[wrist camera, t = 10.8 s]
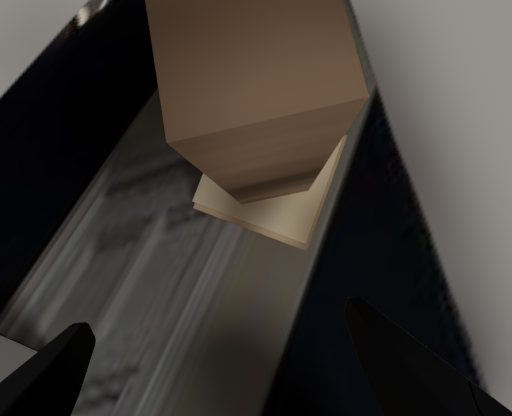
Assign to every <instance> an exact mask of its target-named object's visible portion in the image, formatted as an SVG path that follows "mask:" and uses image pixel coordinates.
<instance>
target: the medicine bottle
mask: <svg viewBox="0 0 512 416" xmlns="http://www.w3.org/2000/svg"><path fill="white" fill-rule="evenodd" d="M36 353H37V351H35V350H33V349H30V348H28V347H26V346H24V345H21V344H19V343H17V342H15V341H12V340H10V339H8V338H6V337H3V336H1V335H0V382H1V381H2V380H4V379H5V378H6V377H7V376H9V375H10V374H11V373H12V372H14V371H15V370H16V369H17V368H18V367H20V366H21V365H22V364H23V363H25V362H26V361H27V360H28V359H30V358H31V357H32V356H33V355H34V354H36Z"/></svg>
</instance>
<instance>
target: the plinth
mask: <svg viewBox="0 0 512 416" xmlns="http://www.w3.org/2000/svg"><path fill="white" fill-rule="evenodd" d="M346 138H347V135H344V136H343V138H342V139H341V141H340V142H339V144H338V145H337V147H336V149H335V150H334V152H333V153H332V155H331V156H330V158H329V159H328V161H327V163H326V164H325V166H324V167H323V169H322V170H321V172H320V173H319V175H318V176H317V178H316V180H315V181H314V183H313V184H312V186H311V187H310V189H309V190H308V191H304V192H299V193H295V194H290V195H285V196H280V197H275V198H270V199H265V200H260V201H256V202H251V203H246V204H241V203H239V202H238V201H237V200H236V199H234V198H233V197H232V196H231V195H230V194H228V193H227V192H226V191H225V190H223V189H222V188H221V187H220V186H218V185H217V184H216V183H215V182H214V181H212V180H211V179H210V178H209V177H207V176H206V175H205V174H204V173H203V175H202V178H201V180H200V183H199V185H198V188H197V190H196V193H195V195H194V198H193V200H192V201H193V202H195V205H194V207H193V208H194V209H197V210H200V211H202V212H205V213H208V214H210V215H213V216H215V217H218V218H221V219H223V220H226V221H229V222H231V223H234V224H237V225H239V226H242V227H245V228H247V229H250V230H253V231H255V232H258V233H260V234H263V235H266V236H268V237H271V238H274V239H276V240H279V241H282V242H284V243H287V244H290V245H292V246H295V247H298V248H300V249H303V250H305V251H307V249H308V246H309V243H310V240H311V237H312V235H313V232H314V229H315V226H316V223H317V220H318V218H319V215H320V212H321V209H322V206H323V203H324V201H325V198H326V195H327V192H328V189H329V187H330V184H331V181H332V178H333V175H334V172H335V170H336V167H337V164H338V161H339V158H340V155H341V153H342V150H343V147H344V144H345V141H346Z"/></svg>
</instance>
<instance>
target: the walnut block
mask: <svg viewBox="0 0 512 416" xmlns="http://www.w3.org/2000/svg"><path fill="white" fill-rule="evenodd" d="M145 1H146V8H147V15H148V22H149V28H150V35H151V42H152V48H153V55H154V62H155V69H156V75H157V82H158V89H159V96H160V102H161V109H162V116H163V123H164V129H165V136H166V143H167V144H168V145H169V146H171V147H172V148H173V149H174V150H176V151H177V152H178V153H179V154H181V155H182V156H183V157H184V158H185V159H187V160H188V161H189V162H190V163H192V164H193V165H194V166H195V167H196V168H198V169H199V170H200V171H201V172H203V173H204V174H205V175H206V176H207V177H209V178H210V179H211V180H212V181H214V182H215V183H216V184H217V185H218V186H220V187H221V188H222V189H223V190H225V191H226V192H227V193H228V194H230V195H231V196H232V197H233V198H234V199H236V200H237V201H238V202H239V203H241V204H246V203H251V202H256V201H260V200H265V199H270V198H275V197H280V196H285V195H290V194H295V193H299V192H304V191H308V190H309V189H310V187H311V186H312V184H313V183H314V181H315V180H316V178H317V176H318V175H319V173H320V172H321V170H322V169H323V167H324V166H325V164H326V163H327V161H328V159H329V158H330V156H331V155H332V153H333V152H334V150H335V149H336V147H337V145H338V144H339V142H340V141H341V139H342V138H343V136H344V135H345V133H346V132H347V130H348V128H349V127H350V125H351V124H352V122H353V121H354V119H355V118H356V116H357V115H358V113H359V111H360V110H361V108H362V107H363V105H364V104H365V102H366V101H367V99H368V98H369V95H368V91H367V87H366V84H365V80H364V76H363V73H362V69H361V65H360V62H359V58H358V54H357V51H356V47H355V43H354V40H353V36H352V32H351V29H350V25H349V21H348V18H347V14H346V10H345V6H344V3H343V0H145Z"/></svg>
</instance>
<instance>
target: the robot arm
mask: <svg viewBox="0 0 512 416" xmlns="http://www.w3.org/2000/svg"><path fill="white" fill-rule="evenodd" d="M344 318H345V321H346V324H347V327H348V330H349V333H350V336H351V339H352V342H353V345H354V348H355V351H356V354H357V356H358V359H359V362H360V364H361V367H362V369H363V371H364V374H365V376H366V378H367V380H368V382H369V385H370V387H371V389H372V391H373V393H374V396H375V398H376V400H377V402H378V405H379V407H380V409H381V411H382V413H383V416H512V412H511V411H510V410H509V409H507V408H506V407H505V406H503V405H502V404H501V403H499V402H498V401H497V400H495V399H494V398H493V397H491V396H490V395H488V394H487V393H486V392H484V391H483V390H482V389H481V388H479V387H478V386H477V385H475V384H474V383H473V382H471V381H469V380H467V378H466V377H465V376H463V375H462V374H461V373H459V372H458V371H457V370H455V369H454V368H453V367H452V366H450V365H449V364H448V363H446V362H445V361H444V360H442V359H441V358H440V357H438V356H437V355H436V354H434V353H433V352H432V351H431V350H429V349H428V348H427V347H425V346H424V345H423V344H421V343H420V342H419V341H417V340H416V339H415V338H413V337H412V336H411V335H410V334H408V333H407V332H406V331H404V330H403V329H402V328H400V327H399V326H398V325H396V324H395V323H394V322H392V321H391V320H390V319H389V318H387V317H386V316H385V315H383V314H382V313H381V312H379V311H378V310H377V309H375V308H374V307H373V306H372V305H370V304H369V303H368V302H366V301H365V300H364V299H362V298H361V297H359V296H352V297H348V298H347V300H346V305H345V309H344ZM95 343H96V339H95V336H94V334H93V332H92V330H91V328H90V326H89V324H88V323H86V322H82V323H74V324H72V325H70V326H69V327H68V328H67V329H65V330H64V331H63V332H62V333H60V334H59V335H58V336H57V337H55V338H54V339H53V340H52V341H51V342H49V343H48V344H47V345H46V346H44V347H43V348H42V349H41V350H39V351H38V352H37V353H36V354H34V355H33V356H32V357H31V358H30V359H28V360H27V361H26V362H25V363H23V364H22V365H21V366H20V367H18V368H17V369H16V370H15V371H14V372H12V373H11V374H10V375H9V376H7V377H6V378H5V379H4V380H2V381H1V382H0V416H70V415H71V413H72V411H73V408H74V406H75V404H76V401H77V399H78V396H79V393H80V390H81V387H82V384H83V381H84V378H85V375H86V372H87V369H88V366H89V363H90V359H91V356H92V353H93V350H94V347H95Z"/></svg>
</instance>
